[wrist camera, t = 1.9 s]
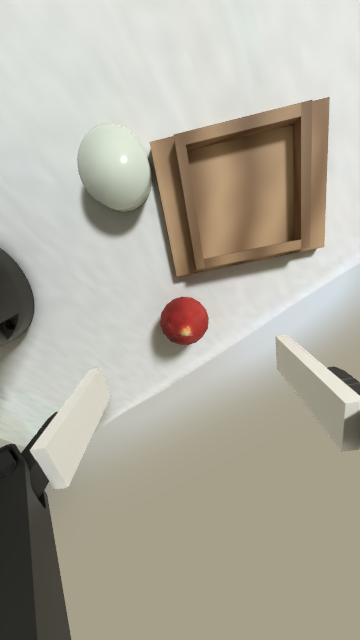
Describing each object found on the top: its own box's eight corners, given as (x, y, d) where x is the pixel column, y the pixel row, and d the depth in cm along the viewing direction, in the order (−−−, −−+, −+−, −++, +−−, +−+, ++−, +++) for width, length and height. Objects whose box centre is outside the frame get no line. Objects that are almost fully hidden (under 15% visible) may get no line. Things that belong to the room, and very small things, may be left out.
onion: (181, 338, 30) (181, 369, 23) (154, 309, 29) (145, 332, 21) (212, 313, 29) (224, 338, 21) (186, 282, 27) (188, 296, 20)
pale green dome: (101, 217, 25) (91, 213, 22) (81, 147, 22) (66, 133, 20) (158, 204, 24) (155, 199, 21) (143, 131, 22) (137, 114, 19)
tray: (177, 275, 27) (176, 278, 24) (151, 147, 22) (147, 134, 20) (317, 247, 26) (332, 247, 23) (321, 104, 21) (340, 85, 19)
